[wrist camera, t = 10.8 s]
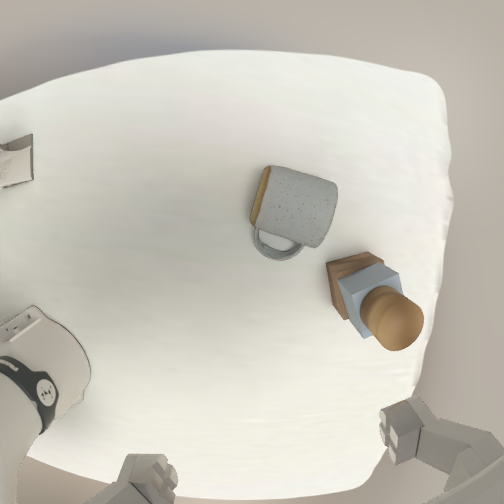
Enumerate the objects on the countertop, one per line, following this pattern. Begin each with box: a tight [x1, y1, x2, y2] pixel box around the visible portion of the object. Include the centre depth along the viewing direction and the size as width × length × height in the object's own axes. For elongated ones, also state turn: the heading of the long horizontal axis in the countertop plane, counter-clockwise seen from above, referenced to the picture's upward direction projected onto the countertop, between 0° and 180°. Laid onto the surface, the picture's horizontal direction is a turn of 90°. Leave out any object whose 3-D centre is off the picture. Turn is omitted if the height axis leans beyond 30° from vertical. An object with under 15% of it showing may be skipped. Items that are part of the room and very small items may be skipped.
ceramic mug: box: [250, 166, 338, 261], centre depth 33 cm, size 11×8×8 cm
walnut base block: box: [326, 252, 384, 320], centre depth 36 cm, size 6×6×5 cm
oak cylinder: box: [360, 285, 424, 351], centre depth 26 cm, size 5×5×5 cm
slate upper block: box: [337, 262, 403, 339], centre depth 31 cm, size 6×6×5 cm
